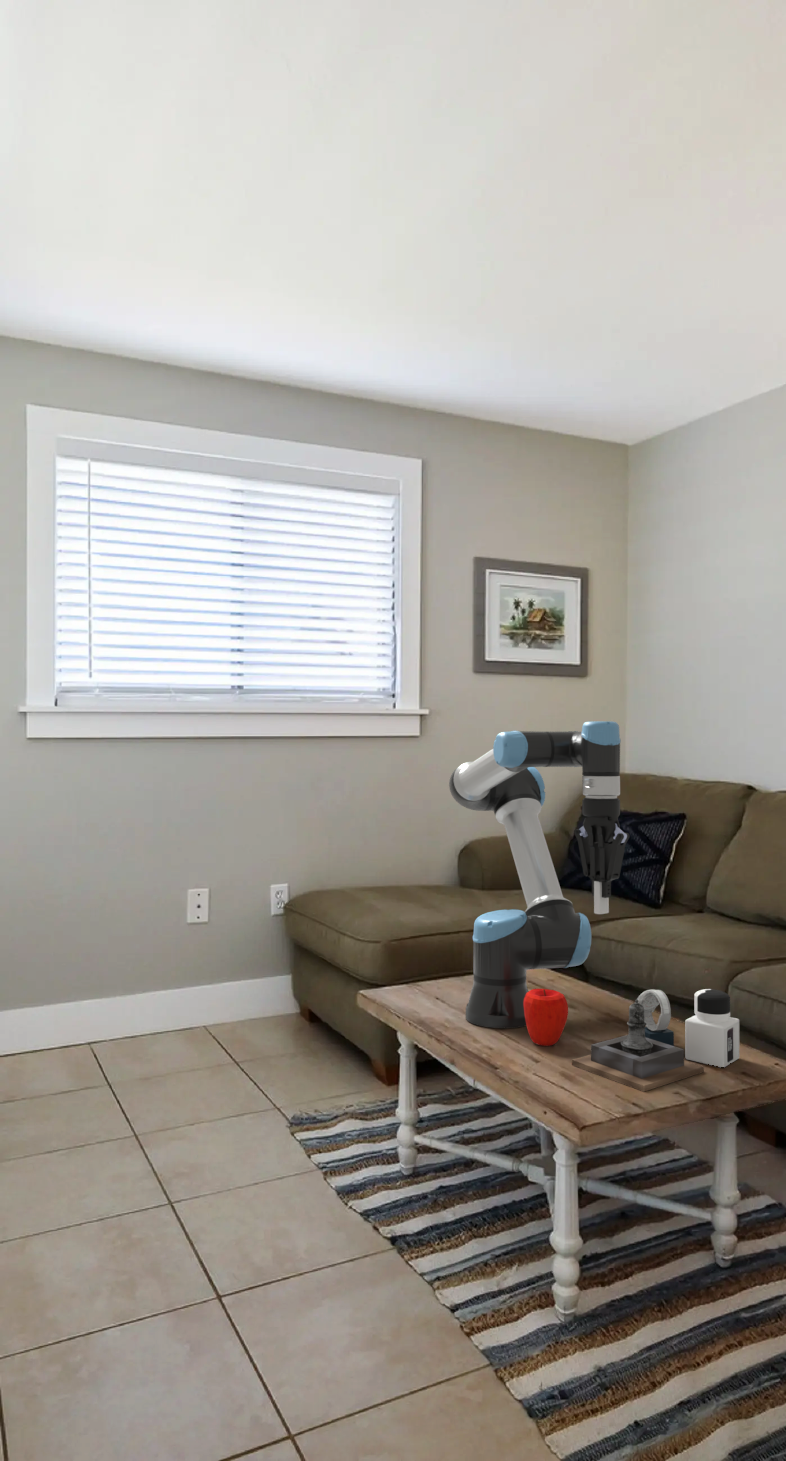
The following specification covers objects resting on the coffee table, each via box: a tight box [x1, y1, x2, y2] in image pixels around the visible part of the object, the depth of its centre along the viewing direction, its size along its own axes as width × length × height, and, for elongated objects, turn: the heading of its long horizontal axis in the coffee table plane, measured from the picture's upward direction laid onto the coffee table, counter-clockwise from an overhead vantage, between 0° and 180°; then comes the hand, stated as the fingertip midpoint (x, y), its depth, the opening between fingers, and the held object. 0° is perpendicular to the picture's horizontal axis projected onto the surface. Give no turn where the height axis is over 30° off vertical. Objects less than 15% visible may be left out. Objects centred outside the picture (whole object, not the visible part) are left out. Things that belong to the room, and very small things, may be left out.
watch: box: [636, 988, 675, 1046], centre depth 192 cm, size 6×8×11 cm
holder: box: [571, 1034, 705, 1092], centre depth 178 cm, size 17×17×4 cm
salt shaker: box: [621, 998, 653, 1057], centre depth 178 cm, size 6×6×12 cm
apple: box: [523, 988, 569, 1047], centre depth 194 cm, size 9×9×11 cm
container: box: [684, 988, 740, 1068], centre depth 184 cm, size 8×8×13 cm
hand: (601, 913), depth 194 cm, fingers closed
